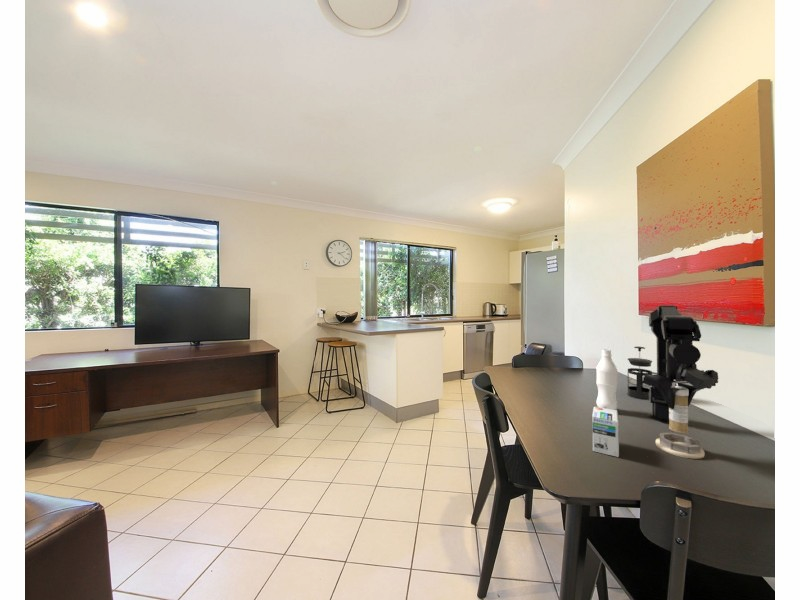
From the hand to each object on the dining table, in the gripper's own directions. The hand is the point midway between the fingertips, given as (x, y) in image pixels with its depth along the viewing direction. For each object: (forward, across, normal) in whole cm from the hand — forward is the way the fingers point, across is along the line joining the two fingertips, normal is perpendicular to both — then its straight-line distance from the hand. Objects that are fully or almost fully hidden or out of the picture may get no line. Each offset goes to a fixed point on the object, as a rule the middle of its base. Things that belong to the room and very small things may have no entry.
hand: (678, 408), depth 93 cm
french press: (+13, +30, +44) cm, 55 cm away
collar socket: (+13, 0, 0) cm, 13 cm away
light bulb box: (+13, -21, +4) cm, 25 cm away
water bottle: (+13, +2, +31) cm, 33 cm away
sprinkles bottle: (+7, 0, 0) cm, 7 cm away
